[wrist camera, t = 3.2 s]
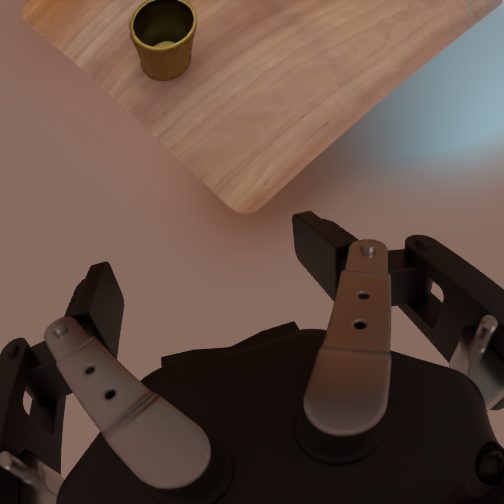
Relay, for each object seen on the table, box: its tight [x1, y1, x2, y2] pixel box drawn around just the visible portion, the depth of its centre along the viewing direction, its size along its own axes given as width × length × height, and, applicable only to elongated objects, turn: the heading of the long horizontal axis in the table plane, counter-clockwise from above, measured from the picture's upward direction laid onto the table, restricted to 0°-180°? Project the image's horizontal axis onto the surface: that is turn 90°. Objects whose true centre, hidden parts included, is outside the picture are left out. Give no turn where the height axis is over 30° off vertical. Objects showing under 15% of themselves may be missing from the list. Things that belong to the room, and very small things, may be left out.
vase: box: [129, 0, 197, 81], centre depth 22 cm, size 6×6×14 cm
